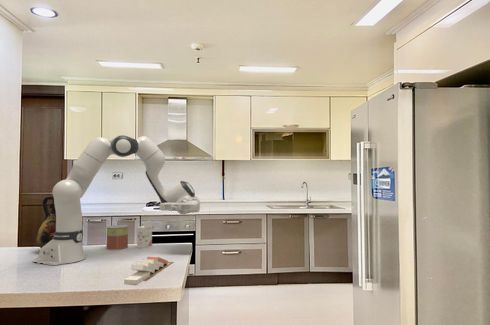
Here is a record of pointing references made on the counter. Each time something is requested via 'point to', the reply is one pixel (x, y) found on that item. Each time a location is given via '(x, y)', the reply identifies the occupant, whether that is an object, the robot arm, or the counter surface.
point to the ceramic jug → (47, 224)
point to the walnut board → (158, 270)
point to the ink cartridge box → (144, 235)
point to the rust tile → (158, 259)
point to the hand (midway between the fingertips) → (173, 208)
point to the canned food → (117, 237)
